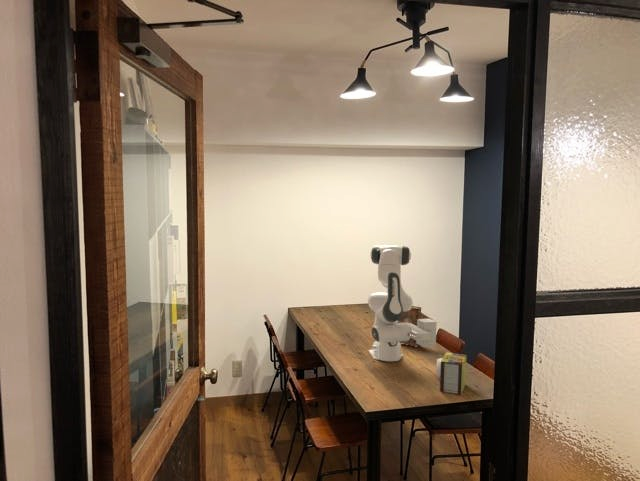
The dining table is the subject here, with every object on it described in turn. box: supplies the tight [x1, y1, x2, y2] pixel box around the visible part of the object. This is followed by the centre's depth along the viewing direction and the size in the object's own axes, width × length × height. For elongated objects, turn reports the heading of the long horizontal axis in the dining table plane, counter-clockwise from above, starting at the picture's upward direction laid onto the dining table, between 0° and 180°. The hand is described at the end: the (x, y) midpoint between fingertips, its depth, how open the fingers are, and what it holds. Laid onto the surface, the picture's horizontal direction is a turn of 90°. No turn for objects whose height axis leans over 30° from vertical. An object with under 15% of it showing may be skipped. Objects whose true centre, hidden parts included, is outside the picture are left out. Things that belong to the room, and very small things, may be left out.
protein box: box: [439, 352, 467, 396], centre depth 243 cm, size 10×15×16 cm
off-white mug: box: [436, 357, 443, 380], centre depth 259 cm, size 10×8×9 cm
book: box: [398, 305, 422, 347], centre depth 314 cm, size 16×6×25 cm, turn 55°
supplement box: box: [416, 318, 438, 348], centre depth 246 cm, size 7×7×13 cm
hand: (428, 330), depth 246 cm, fingers closed on supplement box, 7 cm apart
